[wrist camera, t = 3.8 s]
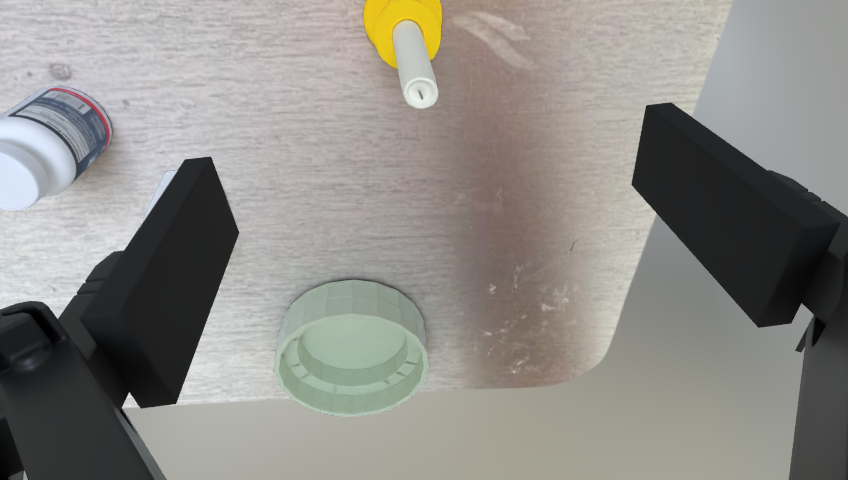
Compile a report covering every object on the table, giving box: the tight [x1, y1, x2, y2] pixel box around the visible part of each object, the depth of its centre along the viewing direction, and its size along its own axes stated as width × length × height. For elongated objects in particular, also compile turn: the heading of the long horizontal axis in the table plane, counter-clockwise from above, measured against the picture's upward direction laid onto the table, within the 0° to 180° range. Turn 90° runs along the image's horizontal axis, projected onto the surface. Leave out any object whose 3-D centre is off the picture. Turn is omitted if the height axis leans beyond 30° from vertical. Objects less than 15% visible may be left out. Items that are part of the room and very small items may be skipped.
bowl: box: [273, 280, 429, 417], centre depth 47 cm, size 14×14×5 cm
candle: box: [363, 0, 442, 109], centre depth 27 cm, size 5×5×16 cm
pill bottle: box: [0, 87, 112, 211], centre depth 31 cm, size 5×5×9 cm
